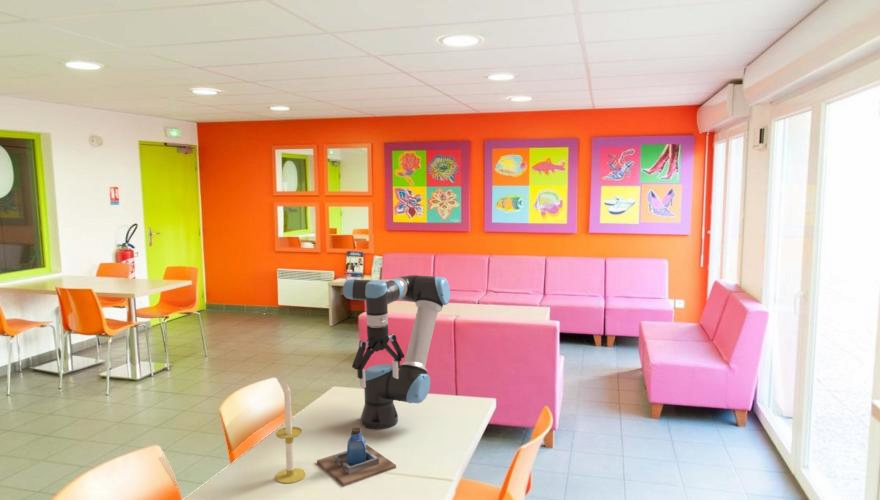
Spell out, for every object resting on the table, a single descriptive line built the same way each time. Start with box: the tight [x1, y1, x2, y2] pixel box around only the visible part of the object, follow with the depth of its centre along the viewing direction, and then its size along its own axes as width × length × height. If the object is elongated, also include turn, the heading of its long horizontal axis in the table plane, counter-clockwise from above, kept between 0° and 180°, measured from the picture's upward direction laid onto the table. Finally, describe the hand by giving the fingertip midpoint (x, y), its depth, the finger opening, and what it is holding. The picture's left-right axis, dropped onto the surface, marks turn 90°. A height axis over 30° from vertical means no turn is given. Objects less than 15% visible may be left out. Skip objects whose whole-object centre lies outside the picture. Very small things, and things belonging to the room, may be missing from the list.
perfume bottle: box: [346, 427, 367, 466], centre depth 204 cm, size 6×6×12 cm
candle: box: [274, 383, 307, 484], centre depth 195 cm, size 10×10×32 cm
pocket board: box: [316, 444, 397, 487], centre depth 204 cm, size 20×20×3 cm
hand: (379, 382), depth 211 cm, fingers open, 13 cm apart
